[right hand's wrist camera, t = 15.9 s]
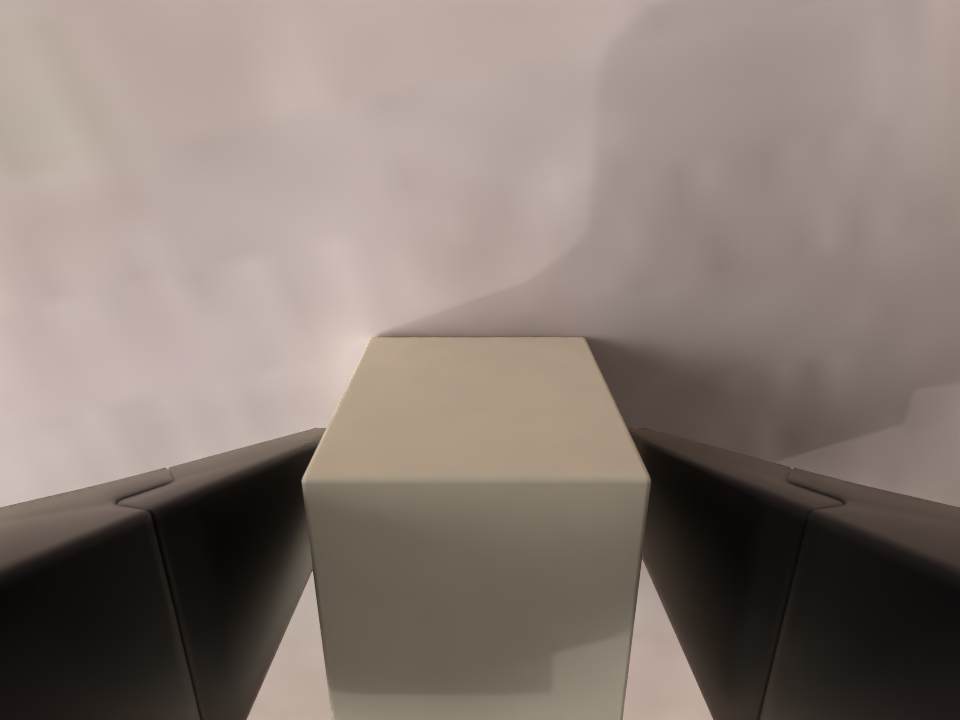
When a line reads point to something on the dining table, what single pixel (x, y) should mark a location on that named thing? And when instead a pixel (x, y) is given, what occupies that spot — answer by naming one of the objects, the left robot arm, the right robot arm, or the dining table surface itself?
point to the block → (476, 533)
